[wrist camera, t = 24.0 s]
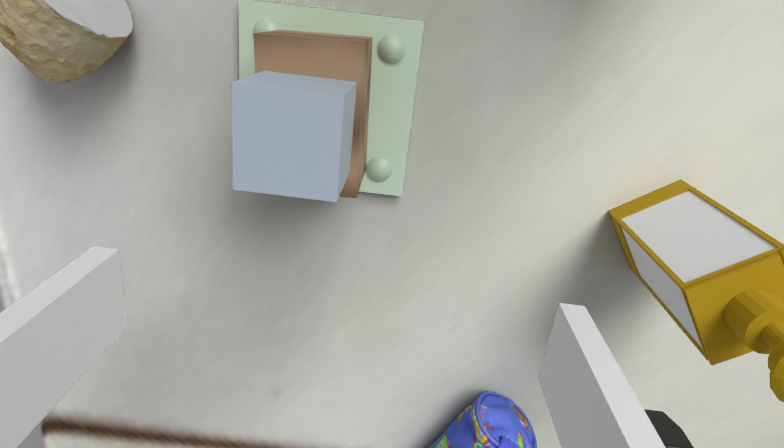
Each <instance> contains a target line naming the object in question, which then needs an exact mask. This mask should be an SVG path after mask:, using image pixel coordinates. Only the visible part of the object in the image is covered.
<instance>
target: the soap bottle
mask: <svg viewBox="0 0 784 448" xmlns="http://www.w3.org/2000/svg"><path fill="white" fill-rule="evenodd" d="M608 212H609V215H610V217H611V220H612V222H613V225H614V227H615V230H616V232H617V235H618V237H619V240H620V243H621V245H622V248H623V250H624V253H625V255H626V258H627V260H628V263H629V265H630V268H631V269H632V271H633V272H634V273H635V274H636V275H637V277H638V278H639V279H640V280H641V281H642V283H643V284H644V285H645V286H646V287H647V289H648V290H649V291H650V292H651V293H652V295H653V296H654V297H655V298H656V299H657V301H658V302H659V303H660V304H661V305H662V307H663V308H664V309H665V310H666V311H667V313H668V314H669V315H670V316H671V317H672V319H673V320H674V321H675V322H676V323H677V325H678V326H679V327H680V328H681V329H682V331H683V332H684V333H685V334H686V335H687V337H688V338H689V339H690V340H691V341H692V343H693V344H694V345H695V346H696V347H697V349H698V350H699V351H700V352H701V353H702V355H703V356H704V357H705V358H706V359H707V360H709V362H710V364H711V365H715V364H718V363H721V362H724V361H726V360H729V359H732V358H735V357H738V356H741V355H744V354H747V353H750V352H753V351H755V352H757V353H763V354H770V355H769V357H768V368H769V369H770V371H771V372H770V388H771V389H772V391H773V392H774V394H775V395H776V397H777V398H778V399H779V400H780V401H782V402H784V244H782V243H780V242H779V241H777V240H776V239H774V238H773V237H771V236H769V235H768V234H766V233H765V232H763V231H761V230H760V229H758V228H757V227H755V226H754V225H752V224H750V223H749V222H747V221H746V220H744V219H743V218H741V217H739V216H738V215H736V214H735V213H733V212H731V211H730V210H728V209H727V208H725V207H724V206H722V205H720V204H719V203H717V202H716V201H714V200H712V199H711V198H709V197H708V196H706V195H705V194H703V193H701V192H700V191H698V190H697V189H695V188H694V187H692V186H690V185H689V184H687V183H686V182H684V181H682V180H679V181H677V182H674V183H672V184H670V185H667V186H665V187H663V188H660V189H658V190H656V191H653V192H651V193H649V194H646V195H644V196H642V197H639V198H637V199H635V200H632V201H630V202H628V203H625V204H623V205H621V206H618V207H616V208H614V209H611V210H609V211H608Z"/></svg>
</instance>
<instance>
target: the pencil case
mask: <svg viewBox="0 0 784 448" xmlns="http://www.w3.org/2000/svg"><path fill="white" fill-rule="evenodd" d="M429 448H537V443H536V438H535V434H534V431H533V429H532V426H531V424H530V422H529V420H528V419H527V417H526V415H525V414H524V413H523V411H522V410H521V409H520V408H519V407H518V406H517V405H516V404H514V402H512V401H511V400H510V399H508V398H506V397H504V396H502V395H499V394H496V393H494V392H490V391H486V392H483V393H481V394H480V395H478V397H477V398H476V400H475V402H474V403H473V404H471V405H470V406H468V407H467V408H465V409H464V411H463V412H462V413H461V414H460V415H459V416H458V417H457V418H456V419H455V420H454V421H453V422H452V423H451V425H450V426H449V427H448V428H447V429H446V431H445V432H444V433H443V434H442V435H441V436H440V437H439V438H438V439H437V440H436V441H435V442H434V443H433V444H432V445H431V446H430V447H429Z"/></svg>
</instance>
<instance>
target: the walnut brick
mask: <svg viewBox="0 0 784 448" xmlns="http://www.w3.org/2000/svg"><path fill="white" fill-rule="evenodd" d="M372 41H373V37H368V36H355V35H342V34H329V33H316V32H303V31H290V30H276V31H268V32H260V33H254V61H255V74H256V73H259V72H261V71H271V72H279V73H287V74H296V75H304V76H312V77H320V78H329V79H337V80H345V81H354V82H357V89H356V101H355V113H354V126H353V138H352V150H351V163H350V172H349V175H348V177H347V179H346V182H345V184H344V186H343V189H342V191H341V193H340V197H352V198H357V195H358V192H359V189H360V186H361V183H362V180H363V177H364V174H365V171H366V158H367V139H368V119H369V100H370V80H371V61H372Z"/></svg>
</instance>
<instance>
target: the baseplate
mask: <svg viewBox="0 0 784 448" xmlns="http://www.w3.org/2000/svg"><path fill="white" fill-rule="evenodd" d="M423 29H424V21H419V20H411V19H403V18H394V17H386V16H378V15H370V14H362V13H353V12H345V11H337V10H329V9H320V8H312V7H304V6H296V5H288V4H279V3H271V2H263V1H255V0H239V80H240V79H242V78H245V77H248V76H250V75H253V74H255V61H254V33H260V32H268V31H276V30H290V31H303V32H316V33H329V34H342V35H355V36H368V37H373V41H372V61H371V80H370V100H369V119H368V139H367V158H366V171H365V174H364V177H363V180H362V183H361V186H360V189H359V191H361V192H369V193H377V194H386V195H394V196H402V194H403V186H404V178H405V170H406V162H407V155H408V147H409V139H410V131H411V123H412V115H413V107H414V100H415V92H416V84H417V76H418V68H419V60H420V53H421V45H422V37H423Z"/></svg>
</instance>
